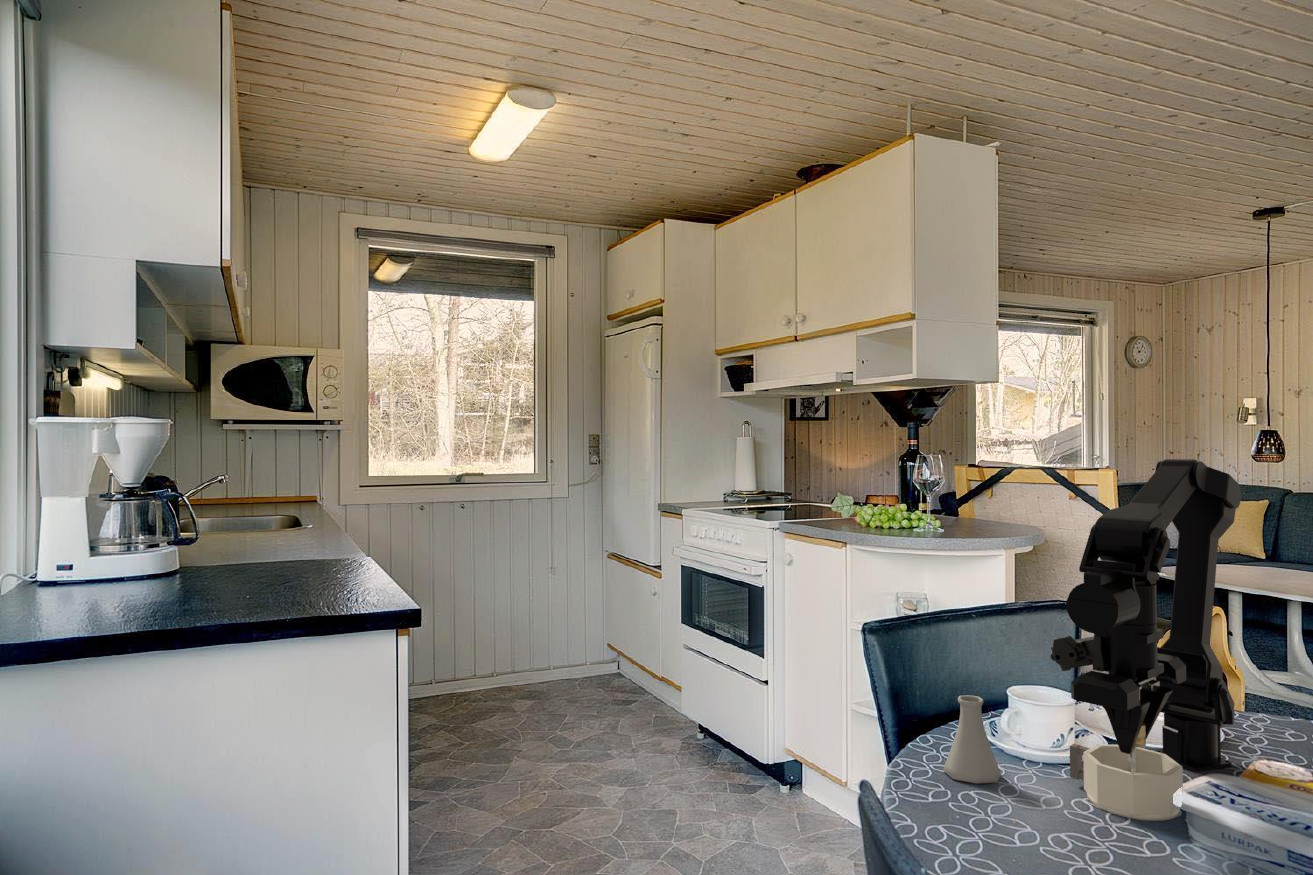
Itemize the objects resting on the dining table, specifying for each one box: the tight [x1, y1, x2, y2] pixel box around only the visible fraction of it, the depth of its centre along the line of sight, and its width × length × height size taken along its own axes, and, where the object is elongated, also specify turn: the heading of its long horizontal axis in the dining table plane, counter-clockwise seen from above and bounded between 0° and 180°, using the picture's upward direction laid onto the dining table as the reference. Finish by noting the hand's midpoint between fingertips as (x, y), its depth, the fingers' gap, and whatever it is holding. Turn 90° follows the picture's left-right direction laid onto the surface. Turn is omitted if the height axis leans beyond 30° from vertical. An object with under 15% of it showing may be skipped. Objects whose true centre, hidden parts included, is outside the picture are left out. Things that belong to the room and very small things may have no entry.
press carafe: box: [1069, 743, 1184, 822], centre depth 101 cm, size 10×12×5 cm
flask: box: [942, 694, 1002, 784], centre depth 110 cm, size 7×7×10 cm
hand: (1131, 749), depth 101 cm, fingers closed on plunger, 3 cm apart
